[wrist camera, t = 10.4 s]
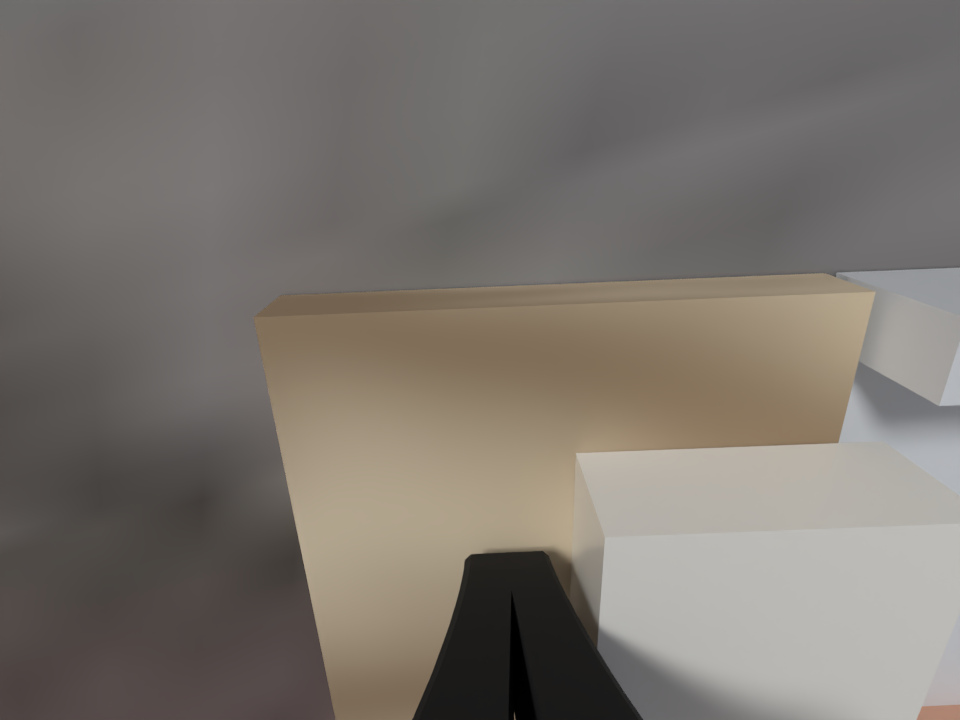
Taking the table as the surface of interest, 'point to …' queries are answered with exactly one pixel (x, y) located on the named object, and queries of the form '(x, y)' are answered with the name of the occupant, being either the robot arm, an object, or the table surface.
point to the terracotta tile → (939, 712)
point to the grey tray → (913, 394)
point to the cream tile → (766, 579)
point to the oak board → (514, 429)
